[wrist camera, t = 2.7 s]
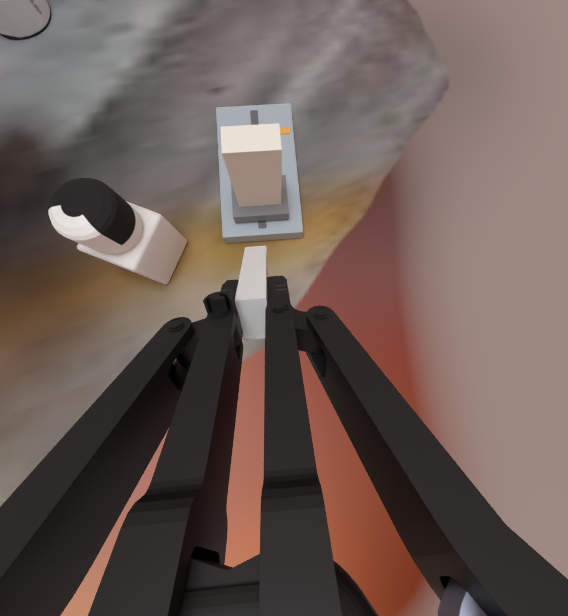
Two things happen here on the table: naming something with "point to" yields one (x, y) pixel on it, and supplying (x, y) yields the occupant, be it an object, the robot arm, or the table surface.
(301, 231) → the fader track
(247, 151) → the fader
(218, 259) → the table surface
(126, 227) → the container
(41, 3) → the speaker
